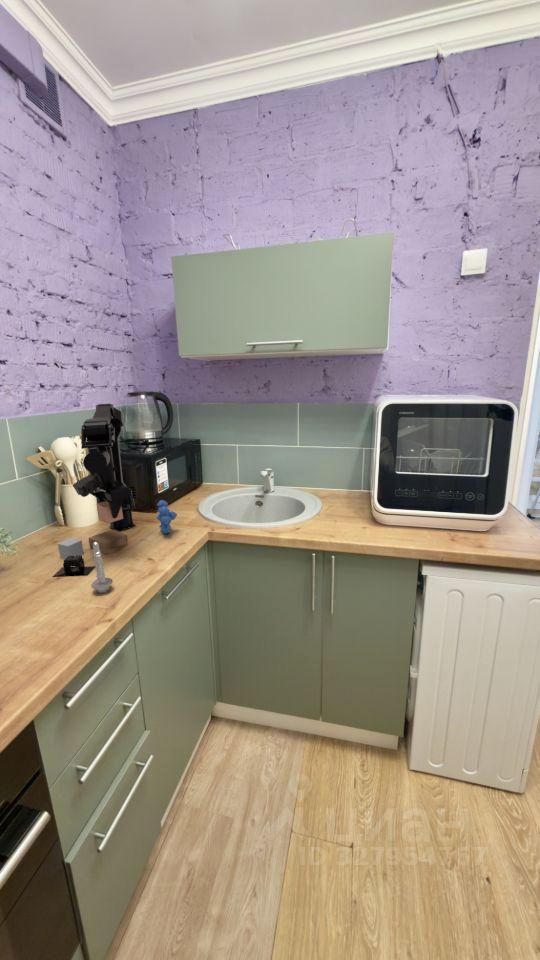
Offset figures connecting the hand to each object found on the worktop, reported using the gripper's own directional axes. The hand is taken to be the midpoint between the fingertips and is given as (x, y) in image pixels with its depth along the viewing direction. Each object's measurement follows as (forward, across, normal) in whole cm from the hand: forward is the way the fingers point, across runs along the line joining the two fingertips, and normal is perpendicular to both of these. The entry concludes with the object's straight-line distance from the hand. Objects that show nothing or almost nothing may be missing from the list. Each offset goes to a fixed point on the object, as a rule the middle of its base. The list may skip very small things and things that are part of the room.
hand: (110, 515), depth 117 cm
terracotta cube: (+1, 0, 0) cm, 1 cm away
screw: (+11, +20, -14) cm, 27 cm away
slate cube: (+11, -6, -10) cm, 16 cm away
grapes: (+12, +2, +18) cm, 21 cm away
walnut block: (+11, -3, 0) cm, 12 cm away
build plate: (+12, +4, -14) cm, 19 cm away
